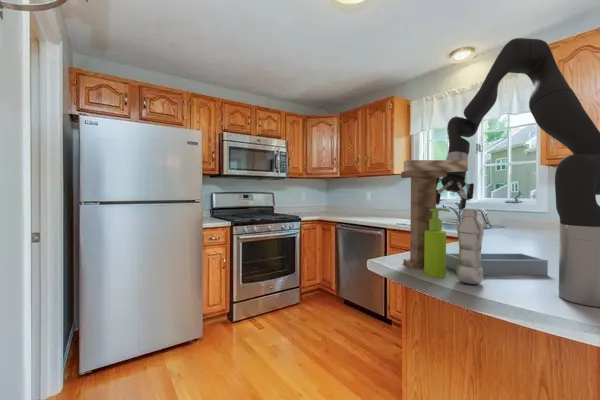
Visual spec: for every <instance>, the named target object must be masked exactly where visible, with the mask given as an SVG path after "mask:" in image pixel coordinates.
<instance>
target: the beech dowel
mask: <svg viewBox="0 0 600 400" xmlns="http://www.w3.org/2000/svg"><path fill="white" fill-rule="evenodd" d="M409 170H447V172H464V171H466V172H468V171H469V159H468V160H445V159H442V160H440V159H438V160H437V159H435V160H432V159H429V160H428V159H414V160H413V159H407V160H404V161H403V172H404V171H409Z"/></svg>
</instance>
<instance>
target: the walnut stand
mask: <svg viewBox="0 0 600 400" xmlns="http://www.w3.org/2000/svg"><path fill="white" fill-rule="evenodd" d="M443 177H447V170H409V171H404V170H403V171H402V172H401V175H400V178H401V179H410V231H409V232H410V248H409V249H410V251H409V253H410V255H409V257H410V258H406V259H405V258H403V264H404V263H405V264H406V265H405V264H404V265H405V266H407V267H408V266H409V268H410V269H411V268H412V269H411V270H424V245H425V231H426V230H429V220H430V219H431V218H432V211H430V209H434V208H437V205H436V189H437V188H436V178H443Z"/></svg>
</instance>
